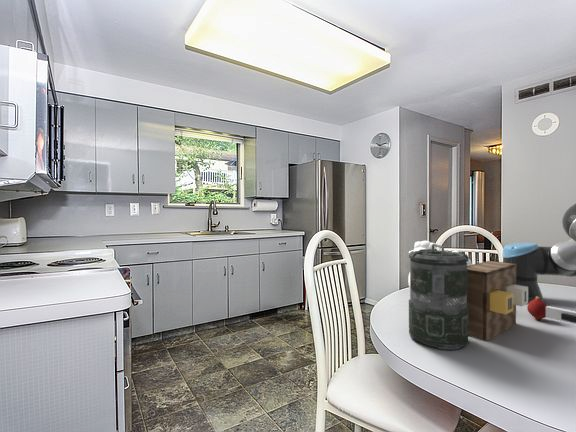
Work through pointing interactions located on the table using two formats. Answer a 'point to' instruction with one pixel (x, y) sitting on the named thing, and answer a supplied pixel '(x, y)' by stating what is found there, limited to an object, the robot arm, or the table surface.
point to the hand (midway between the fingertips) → (546, 311)
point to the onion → (537, 308)
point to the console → (488, 298)
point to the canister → (438, 298)
